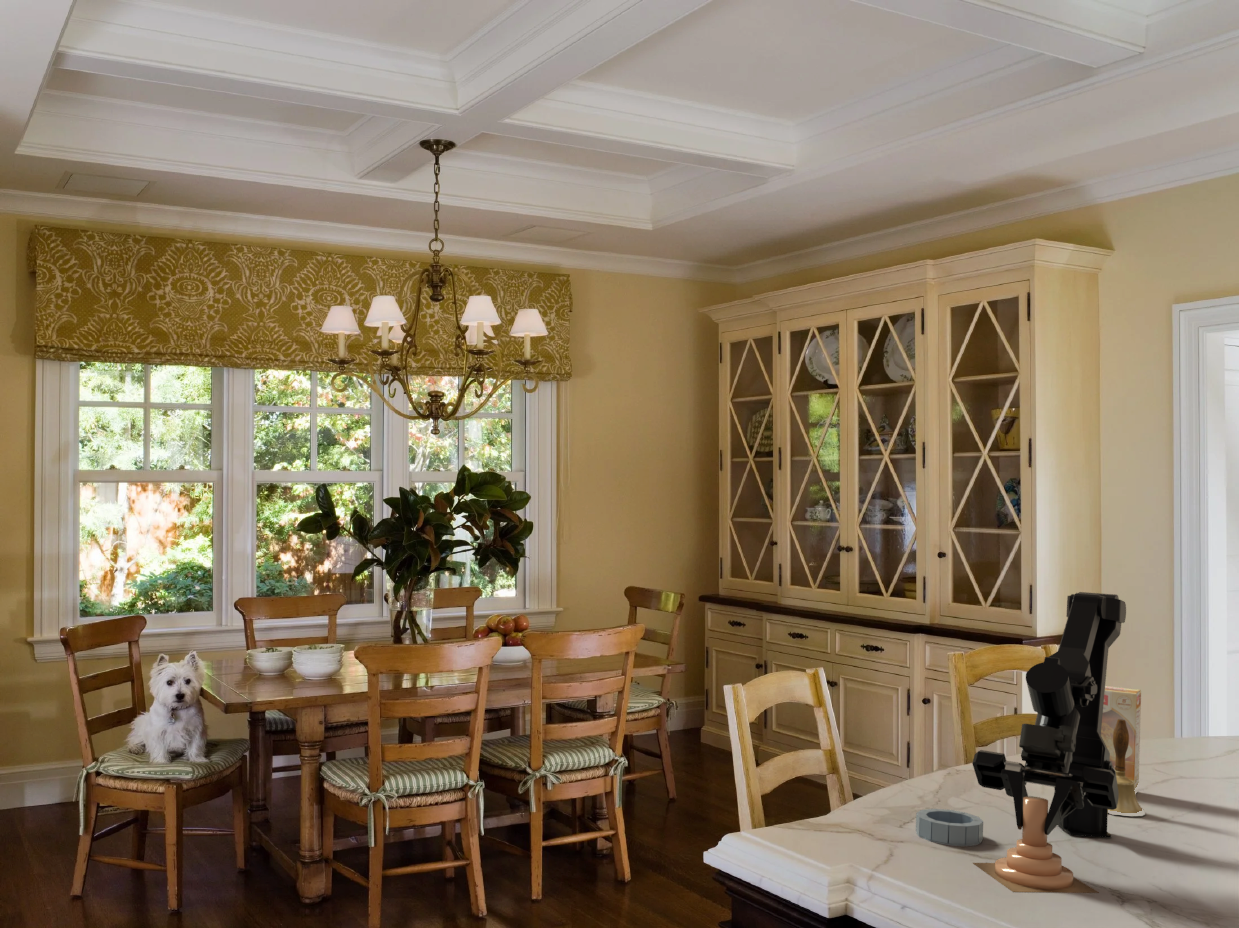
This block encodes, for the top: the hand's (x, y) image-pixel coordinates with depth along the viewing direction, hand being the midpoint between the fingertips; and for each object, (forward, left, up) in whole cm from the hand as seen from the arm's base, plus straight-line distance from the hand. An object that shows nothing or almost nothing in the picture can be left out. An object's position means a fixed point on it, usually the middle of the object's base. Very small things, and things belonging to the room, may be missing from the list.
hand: (1032, 830), depth 148 cm
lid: (-1, -1, -7) cm, 7 cm away
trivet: (-1, -1, -7) cm, 7 cm away
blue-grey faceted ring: (+6, -19, -7) cm, 21 cm away
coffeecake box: (-32, -62, -7) cm, 70 cm away
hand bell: (-30, -45, -7) cm, 55 cm away
